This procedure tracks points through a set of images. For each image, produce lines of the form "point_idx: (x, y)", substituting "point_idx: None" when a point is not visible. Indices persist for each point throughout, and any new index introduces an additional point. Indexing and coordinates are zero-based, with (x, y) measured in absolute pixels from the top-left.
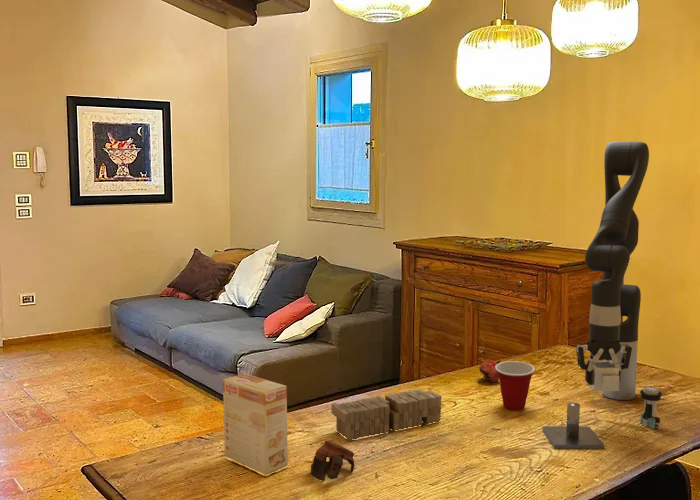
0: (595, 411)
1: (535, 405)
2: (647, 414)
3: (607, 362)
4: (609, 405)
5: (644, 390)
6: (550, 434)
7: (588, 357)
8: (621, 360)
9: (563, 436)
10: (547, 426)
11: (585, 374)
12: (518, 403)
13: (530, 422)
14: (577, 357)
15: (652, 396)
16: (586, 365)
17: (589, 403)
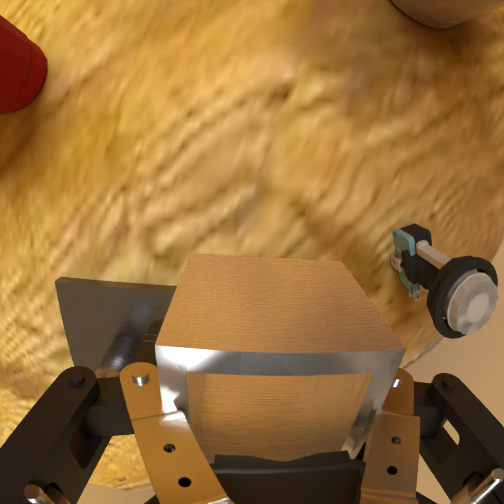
0: (289, 99)
1: (87, 45)
2: (411, 281)
3: (357, 368)
4: (365, 50)
5: (453, 306)
6: (72, 339)
7: (133, 427)
8: (448, 409)
9: (102, 354)
10: (66, 284)
11: (141, 351)
12: (7, 111)
13: (36, 213)
14: (28, 425)
15: (447, 335)
16: (121, 433)
17: (299, 19)
